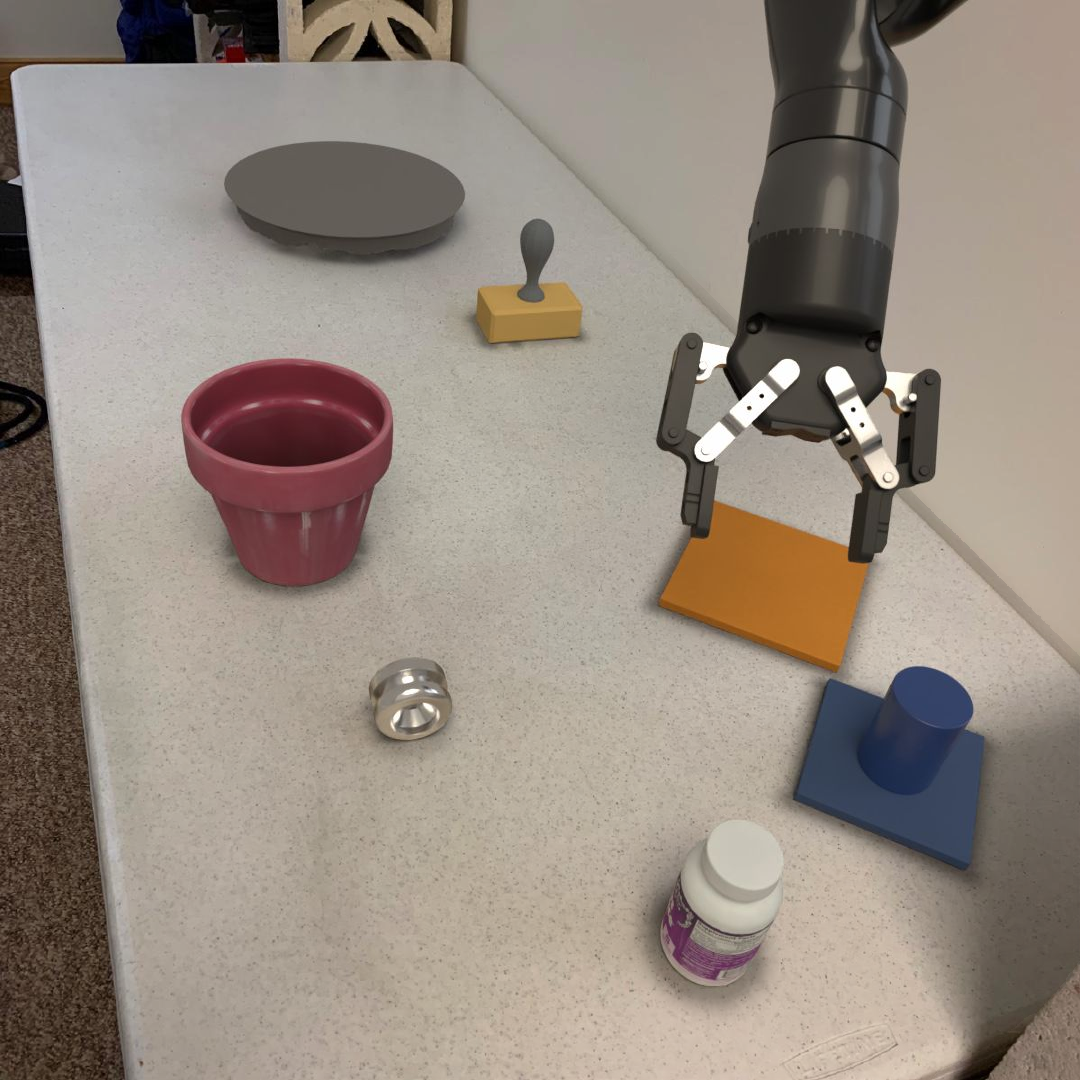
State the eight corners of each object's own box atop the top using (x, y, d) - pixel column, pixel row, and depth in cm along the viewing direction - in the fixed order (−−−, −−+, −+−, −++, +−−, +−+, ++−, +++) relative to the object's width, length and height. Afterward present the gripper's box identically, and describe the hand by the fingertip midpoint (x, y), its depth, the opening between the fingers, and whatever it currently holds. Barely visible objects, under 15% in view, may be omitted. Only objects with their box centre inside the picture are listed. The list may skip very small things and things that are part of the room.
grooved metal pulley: (443, 702, 67) (446, 652, 64) (452, 737, 65) (456, 688, 62) (368, 713, 66) (368, 663, 62) (375, 749, 64) (375, 699, 60)
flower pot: (382, 484, 84) (383, 352, 75) (401, 603, 74) (404, 465, 65) (204, 493, 80) (184, 356, 72) (198, 618, 70) (174, 476, 62)
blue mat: (980, 743, 69) (984, 736, 69) (965, 871, 62) (970, 864, 61) (826, 684, 72) (829, 677, 71) (793, 800, 64) (796, 792, 64)
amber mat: (868, 561, 83) (871, 554, 82) (836, 673, 73) (840, 666, 72) (708, 505, 86) (710, 498, 86) (658, 605, 76) (660, 598, 76)
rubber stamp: (561, 311, 110) (576, 206, 102) (579, 338, 106) (595, 231, 98) (474, 317, 107) (482, 209, 99) (489, 345, 103) (499, 235, 95)
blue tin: (936, 750, 67) (977, 683, 63) (927, 807, 64) (970, 740, 59) (863, 722, 69) (898, 654, 64) (851, 776, 65) (887, 708, 60)
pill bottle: (663, 889, 58) (697, 794, 52) (753, 911, 58) (799, 818, 52) (652, 977, 54) (688, 886, 48) (748, 1002, 54) (798, 913, 48)
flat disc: (229, 276, 107) (224, 237, 104) (226, 173, 127) (223, 138, 124) (482, 273, 114) (485, 237, 111) (442, 176, 134) (444, 143, 131)
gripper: (700, 202, 49) (654, 524, 48) (983, 245, 49) (944, 567, 48) (677, 255, 57) (637, 535, 56) (924, 292, 57) (888, 572, 56)
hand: (779, 549), depth 52 cm, fingers open, 8 cm apart
